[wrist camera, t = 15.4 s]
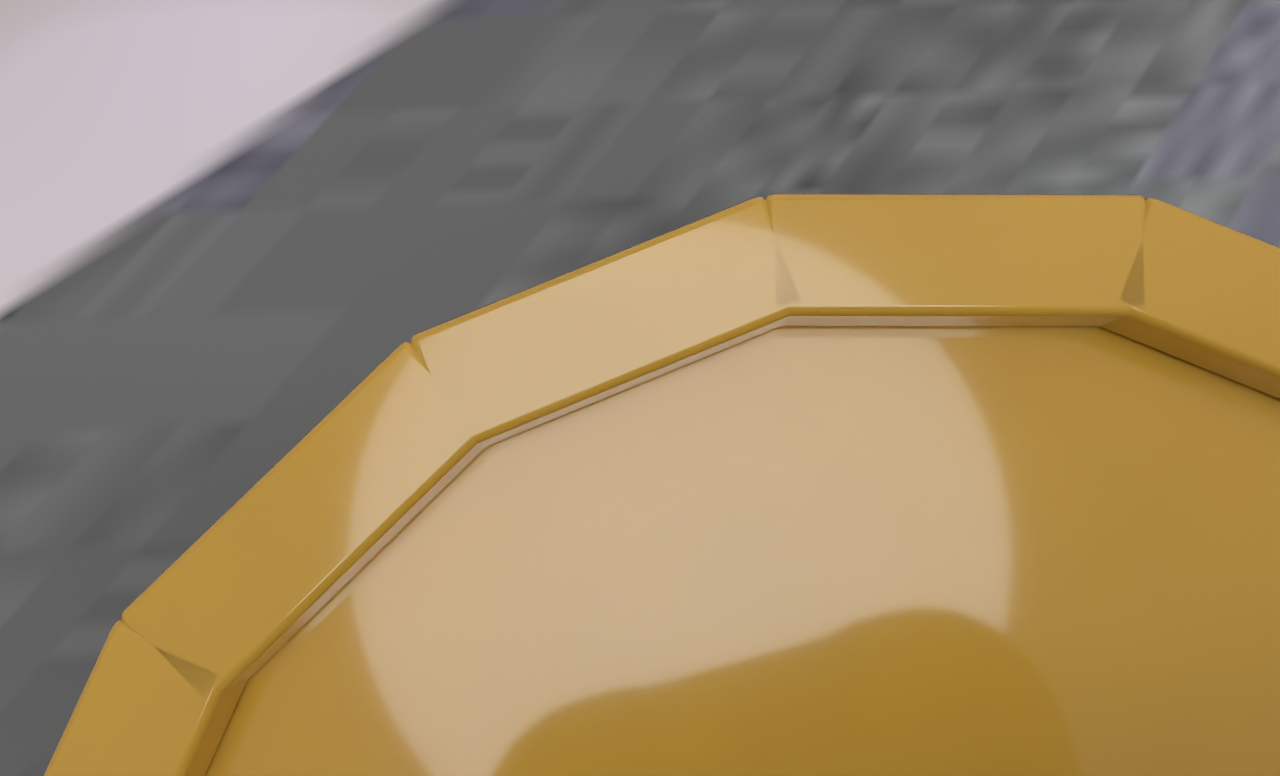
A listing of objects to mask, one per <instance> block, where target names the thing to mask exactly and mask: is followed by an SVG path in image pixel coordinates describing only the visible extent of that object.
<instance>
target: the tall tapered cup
mask: <svg viewBox="0 0 1280 776" xmlns="http://www.w3.org/2000/svg"><path fill="white" fill-rule="evenodd" d="M121 618H122V619H120V620H118V621H117V622H116V623H115V624H114V625H113V627H112V629H111V631H110V634H109V636H108V638H107V640H106V642H105V644H104V647H103V649H102V651H101V653H100V655H99V657H98V660H97V662H96V664H95V666H94V668H93V670H92V673H91V675H90V677H89V679H88V681H87V683H86V686H85V688H84V690H83V692H82V694H81V696H80V699H79V701H78V703H77V705H76V707H75V709H74V712H73V714H72V716H71V718H70V720H69V722H68V724H67V727H66V729H65V731H64V733H63V735H62V737H61V740H60V742H59V744H58V746H57V748H56V750H55V753H54V755H53V757H52V759H51V761H50V763H49V766H48V768H47V770H46V772H45V774H44V776H1280V248H1278V247H1276V246H1273V245H1271V244H1268V243H1266V242H1263V241H1261V240H1258V239H1256V238H1253V237H1251V236H1248V235H1246V234H1243V233H1241V232H1238V231H1236V230H1233V229H1231V228H1228V227H1226V226H1223V225H1221V224H1218V223H1216V222H1213V221H1211V220H1208V219H1205V218H1203V217H1200V216H1198V215H1195V214H1193V213H1190V212H1188V211H1185V210H1183V209H1180V208H1178V207H1175V206H1173V205H1170V204H1168V203H1165V202H1163V201H1160V200H1158V199H1155V198H1146V199H1144V197H1142V196H1139V195H1064V194H771V195H769V196H766V198H765V199H763V198H762V197H754V198H751V199H749V200H746V201H744V202H741V203H739V204H736V205H734V206H732V207H729V208H727V209H724V210H722V211H719V212H717V213H714V214H712V215H709V216H707V217H704V218H702V219H699V220H697V221H694V222H692V223H689V224H687V225H684V226H682V227H679V228H677V229H674V230H672V231H670V232H667V233H665V234H662V235H660V236H657V237H655V238H652V239H650V240H647V241H645V242H642V243H640V244H637V245H635V246H632V247H630V248H627V249H625V250H622V251H620V252H617V253H615V254H612V255H610V256H608V257H605V258H603V259H600V260H598V261H595V262H593V263H590V264H588V265H585V266H583V267H580V268H578V269H575V270H573V271H570V272H568V273H565V274H563V275H560V276H558V277H555V278H553V279H550V280H548V281H545V282H543V283H541V284H538V285H536V286H533V287H531V288H528V289H526V290H523V291H521V292H518V293H516V294H513V295H511V296H508V297H506V298H503V299H501V300H498V301H496V302H493V303H491V304H488V305H486V306H483V307H481V308H479V309H476V310H474V311H471V312H469V313H466V314H464V315H461V316H459V317H456V318H454V319H451V320H449V321H446V322H444V323H441V324H439V325H436V326H434V327H431V328H429V329H426V330H424V331H421V332H419V333H417V334H415V335H414V336H413V337H412V338H411V343H410V342H408V341H407V342H404V343H402V344H400V345H399V346H398V347H397V348H396V349H395V350H394V351H393V352H392V353H391V354H390V355H389V356H387V357H386V358H385V359H384V360H383V361H382V362H381V363H380V364H379V365H378V366H377V367H376V368H375V369H374V370H373V371H372V372H371V373H370V374H369V375H368V376H367V377H366V378H365V379H364V380H363V381H361V382H360V383H359V384H358V385H357V386H356V387H355V388H354V389H353V390H352V391H351V392H350V393H349V394H348V395H347V396H346V397H345V398H344V399H343V400H342V401H341V402H340V403H339V404H338V405H337V406H336V407H334V408H333V409H332V410H331V411H330V412H329V413H328V414H327V415H326V416H325V417H324V418H323V419H322V420H321V421H320V422H319V423H318V424H317V425H316V426H315V427H314V428H313V429H312V430H311V431H310V432H308V433H307V434H306V435H305V436H304V437H303V438H302V439H301V440H300V441H299V442H298V443H297V444H296V445H295V446H294V447H293V448H292V449H291V450H290V451H289V452H288V453H287V454H286V455H285V456H284V457H282V458H281V459H280V460H279V461H278V462H277V463H276V464H275V465H274V466H273V467H272V468H271V469H270V470H269V471H268V472H267V473H266V474H265V475H264V476H263V477H262V478H261V479H260V480H259V481H258V482H256V483H255V484H254V485H253V486H252V487H251V488H250V489H249V490H248V491H247V492H246V493H245V494H244V495H243V496H242V497H241V498H240V499H239V500H238V501H237V502H236V503H235V504H234V505H233V506H232V507H230V508H229V509H228V510H227V511H226V512H225V513H224V514H223V515H222V516H221V517H220V518H219V519H218V520H217V521H216V522H215V523H214V524H213V525H212V526H211V527H210V528H209V529H208V530H207V531H206V532H205V533H203V534H202V535H201V536H200V537H199V538H198V539H197V540H196V541H195V542H194V543H193V544H192V545H191V546H190V547H189V548H188V549H187V550H186V551H185V552H184V553H183V554H182V555H181V556H180V557H179V558H177V559H176V560H175V561H174V562H173V563H172V564H171V565H170V566H169V567H168V568H167V569H166V570H165V571H164V572H163V573H162V574H161V575H160V576H159V577H158V578H157V579H156V580H155V581H154V582H153V583H151V584H150V585H149V586H148V587H147V588H146V589H145V590H144V591H143V592H142V593H141V594H140V595H139V596H138V597H137V598H136V599H135V600H134V601H133V602H132V603H131V604H130V605H129V606H128V607H127V608H125V610H124V612H123V614H122V615H121Z"/></svg>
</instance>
